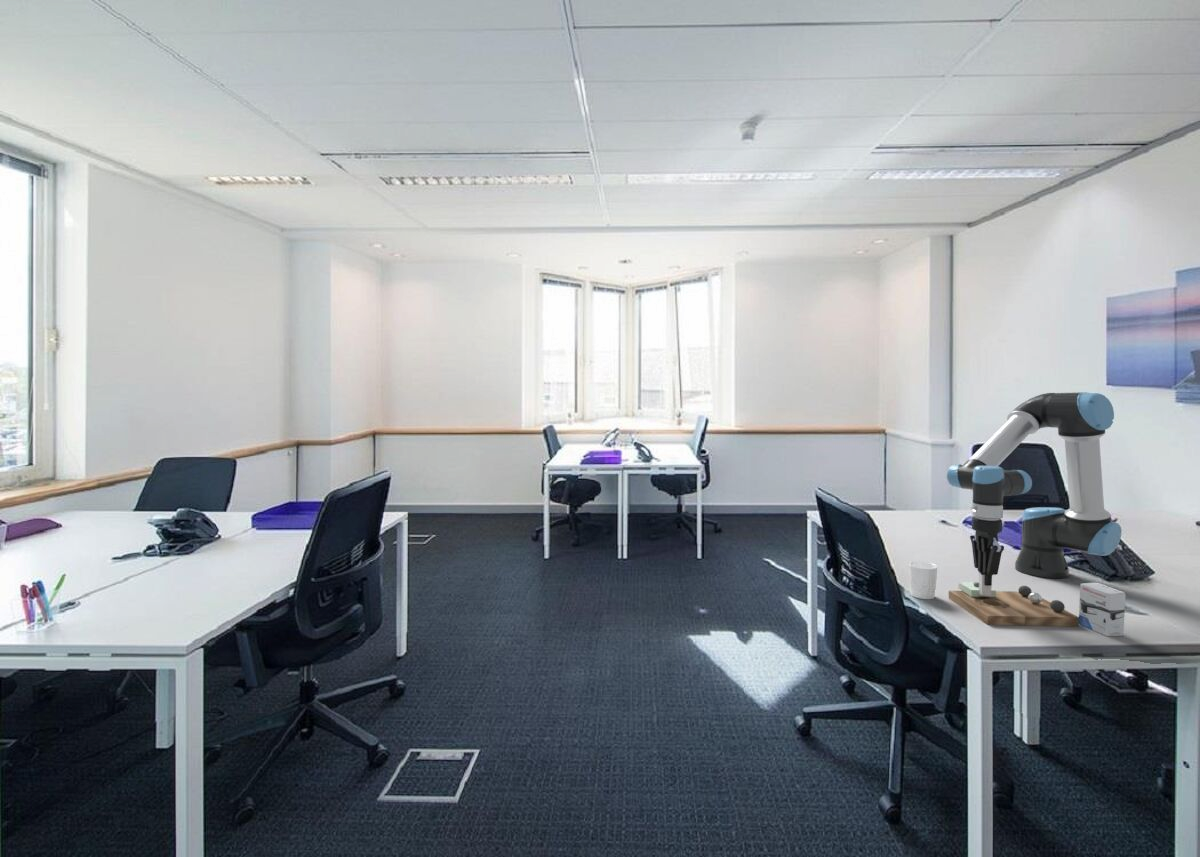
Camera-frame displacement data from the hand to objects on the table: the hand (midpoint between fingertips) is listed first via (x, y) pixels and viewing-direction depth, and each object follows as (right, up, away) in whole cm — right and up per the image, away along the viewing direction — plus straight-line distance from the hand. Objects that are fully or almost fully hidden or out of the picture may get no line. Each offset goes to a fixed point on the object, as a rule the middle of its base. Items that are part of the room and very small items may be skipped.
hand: (985, 594), depth 168 cm
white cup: (-13, -4, +10) cm, 17 cm away
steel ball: (+12, 0, -5) cm, 13 cm away
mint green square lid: (0, -1, +4) cm, 4 cm away
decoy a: (+13, +1, +1) cm, 13 cm away
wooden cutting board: (+5, -4, -4) cm, 7 cm away
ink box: (+20, -5, -17) cm, 26 cm away
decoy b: (+13, 0, -11) cm, 17 cm away
